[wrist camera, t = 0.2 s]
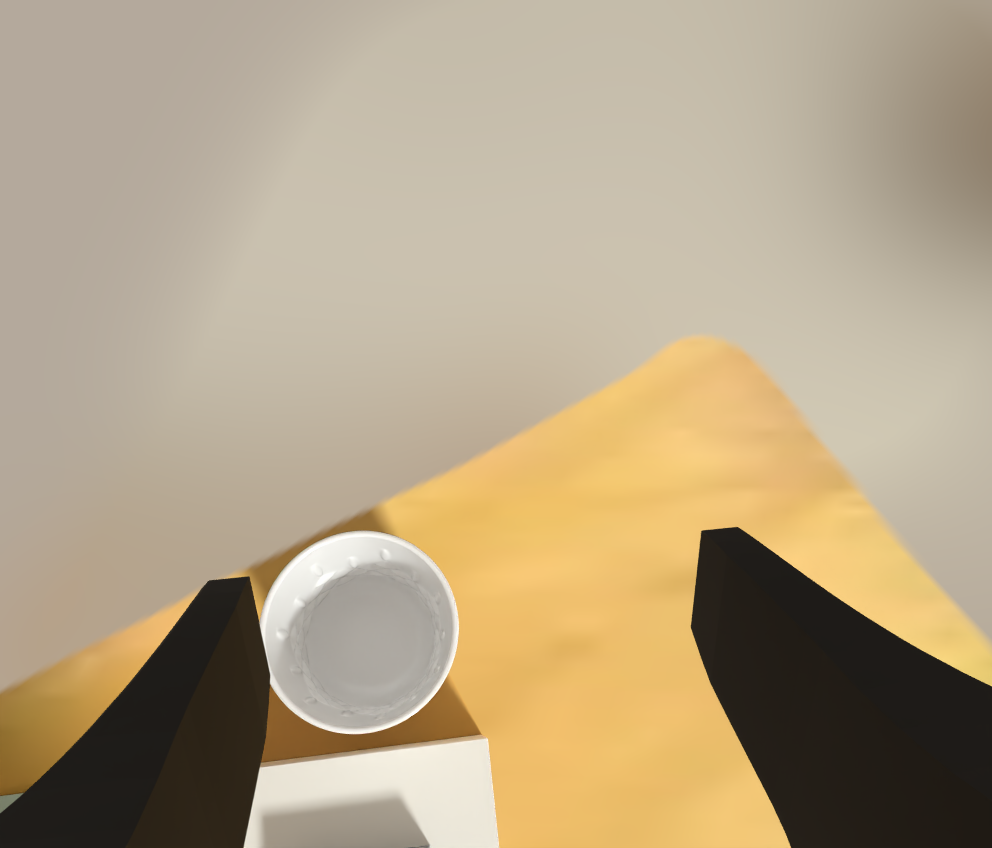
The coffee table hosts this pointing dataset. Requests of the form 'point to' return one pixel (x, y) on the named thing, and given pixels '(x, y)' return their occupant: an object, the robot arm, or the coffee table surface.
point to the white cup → (359, 632)
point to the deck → (378, 798)
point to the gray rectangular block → (424, 847)
